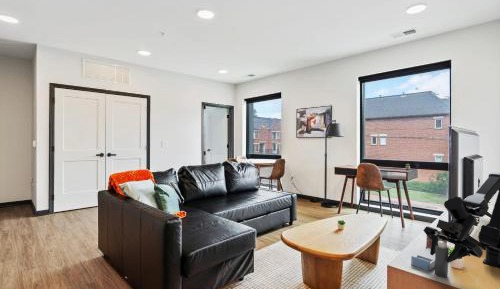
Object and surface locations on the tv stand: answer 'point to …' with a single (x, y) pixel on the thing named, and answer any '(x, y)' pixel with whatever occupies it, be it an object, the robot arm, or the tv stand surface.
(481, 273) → the tv stand surface
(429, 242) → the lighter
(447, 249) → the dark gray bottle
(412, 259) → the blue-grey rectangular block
